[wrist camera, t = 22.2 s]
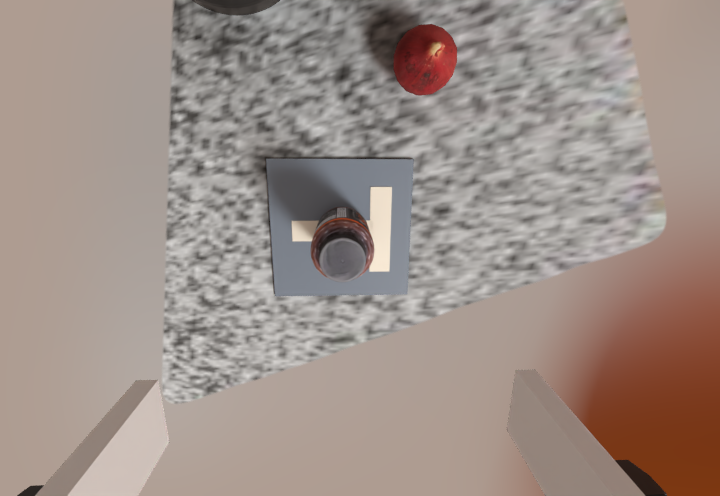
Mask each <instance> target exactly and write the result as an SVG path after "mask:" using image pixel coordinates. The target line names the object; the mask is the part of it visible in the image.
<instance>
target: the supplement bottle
mask: <svg viewBox="0 0 720 496" xmlns="http://www.w3.org/2000/svg"><path fill="white" fill-rule="evenodd" d="M373 257H374V243H373V239H372V236H371V233H370V231H369V228H368V225H367V222H366V220H365V219H364V218H363V216H362V215H361V214H360V213H359V212H357V211H356V210H354V209H352V208H348V207H336V208H333V209H331V210H329V211H327V212H326V213H325V214H324V215H323V216H322V217H321V219H320V220H319V222H318V224H317V227H316V230H315V233H314V236H313V239H312V243H311V258H312V261H313V264H314V265H315V267H316V269H317V270H318V271H319V272H320V273H321V274H322V275H324V276H325V277H327V278H329V279H331V280H333V281H336V282H349V281H352V280H354V279H356V278H358V277H360V276H361V275H362V274H364V273H365V272H366V271H367V270H368V268H369V267H370V265H371V263H372V261H373Z"/></svg>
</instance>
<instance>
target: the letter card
mask: <svg viewBox="0 0 720 496" xmlns="http://www.w3.org/2000/svg"><path fill="white" fill-rule="evenodd" d="M413 161H414V159H266V166H267V181H268V196H269V212H270V227H271V242H272V257H273V272H274V288H275V296H320V295H384V294H407V290H408V269H409V247H410V226H411V204H412V183H413ZM336 207H348V208H352V209H354V210H356V211H357V212H359V213H360V214H361V215H362V216H363V218H364V219H365V220H366V222H367V225H368V228H369V231H370V233H371V236H372V239H373V243H374V257H373V261H372V263H371V265H370V267H369V268H368V270H367V271H366V272H365V273H364V274H362V275H361V276H360V277H358V278H356V279H354V280H352V281H349V282H336V281H333V280H331V279H329V278H327V277H325V276H324V275H322V274H321V273H320V272H319V271H318V270H317V269H316V267H315V265H314V264H313V261H312V258H311V243H312V239H313V236H314V233H315V230H316V227H317V224H318V222H319V220H320V219H321V217H322V216H323V215H324V214H325V213H326V212H327V211H329V210H331V209H333V208H336Z"/></svg>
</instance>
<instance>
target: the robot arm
mask: <svg viewBox="0 0 720 496" xmlns="http://www.w3.org/2000/svg"><path fill="white" fill-rule="evenodd" d="M192 1H194V2H195V3H197V4H199V5H200V6H202V7H204V8H207V9H209V10H212V11H215V12H218V13H222V14H227V15H248V14H253V13H257V12H260V11H263V10H265V9H267V8H269V7H271V6H273V5H274V4H276V3H277V2H279V1H280V0H192ZM507 431H508V433H509V434H510V436H511V438H512V440H513V441H514V443H515V445H516V446H517V448H518V450H519V452H520V453H521V455H522V457H523V458H524V460H525V462H526V464H527V465H528V467H529V469H530V470H531V472H532V473H533V476H534V477H535V479H536V481H537V482H538V484H539V486H540V487H541V489H542V491H543V493H544V494H545V496H667V494H666V493H665V492H664V491H663V490H662V488H661V487H660V486H659V485H658V484H657V483H656V482H655V481H654V480H653V479H652V478H651V477H650V476H649V475H648V474H647V473H645V472H644V471H642V470H641V469H640V468H638V467H637V466H636V465H634V464H633V463H631V462H630V461H629V460H614V459H613V458H612V457H611V456H610V455H609V453H607V451H606V450H605V449H604V448H603V447H602V445H601V444H600V443H599V442H598V441H597V440H596V439H595V437H594V436H593V435H592V434H591V433H590V432H589V431H588V429H587V428H586V427H585V426H584V425H583V424H582V422H580V420H579V419H578V418H577V417H576V416H575V414H574V413H573V412H572V411H571V410H570V409H569V408H568V407H567V406H566V404H565V403H564V402H563V401H562V400H561V398H560V397H559V396H558V395H557V394H556V393H555V392H554V391H553V390H552V388H551V387H550V386H549V385H548V384H547V383H546V381H545V380H544V379H543V378H542V377H541V376H540V374H539V373H538V372H537V371H536V370H516V371H515V378H514V384H513V391H512V399H511V405H510V412H509V418H508V426H507ZM168 443H169V438H168V433H167V427H166V421H165V416H164V410H163V404H162V399H161V393H160V388H159V383H158V380H139V381H135V382H134V384H133V385H132V386H131V387H130V388H129V389H128V390H127V392H126V393H125V394H124V395H123V396H122V397H121V398H120V399H119V401H118V402H117V403H116V404H115V405H114V406H113V407H112V409H111V410H110V411H109V412H108V413H107V414H106V415H105V417H104V418H103V419H102V420H101V421H100V422H99V423H98V425H97V426H96V427H95V428H94V429H93V430H92V431H91V433H90V434H89V435H88V436H87V437H86V438H85V439H84V440H83V442H82V443H81V444H80V445H79V446H78V447H77V449H76V450H75V451H74V452H73V453H72V454H71V455H70V456H69V458H68V459H67V460H66V461H65V462H64V463H63V464H62V466H61V467H60V468H59V469H58V470H57V471H56V472H55V474H54V475H53V476H52V477H51V478H50V479H49V481H48V482H47V483H46V484H45V485H43V486H42V485H41V486H30V487H28V488H27V489H26V490H24V491H23V492H22V493H20V494H19V495H18V496H138V495H139V493H140V492H141V490H142V488H143V486H144V485H145V483H146V481H147V480H148V478H149V476H150V474H151V473H152V471H153V469H154V467H155V466H156V464H157V462H158V461H159V459H160V457H161V455H162V454H163V452H164V450H165V449H166V447H167V445H168Z"/></svg>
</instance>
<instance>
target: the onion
mask: <svg viewBox="0 0 720 496" xmlns="http://www.w3.org/2000/svg"><path fill="white" fill-rule="evenodd" d="M456 63H457V47H456V45H455V43H454V40H453V38H452V37H451V36H450V35H449V34H448V33H447V32H446V31H445V30H444V29H443V28H441V27H438V26H436V25H433V24H428V25H418V26H416V27H415V28H413V29H411V30H409V31H407V32H406V34H405V35H404V36H403V37H402V39H401V40H400V41H399V42H398V44H397V47H396V50H395V54H394V72H395V75H396V78H397V81H398V82H399V83H400V85H401V86H402V87H403V88H404V89H405V90H406V91H408V92H410V93H413V94H415V95H428V94H433V93H434V92H436V91H437V90H439V89H441V88H442V87H443V86H445V85H446V83H447V82H448V81H449V79H450V78H451V77H452V75H453V72H454V69H455V66H456Z"/></svg>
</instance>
